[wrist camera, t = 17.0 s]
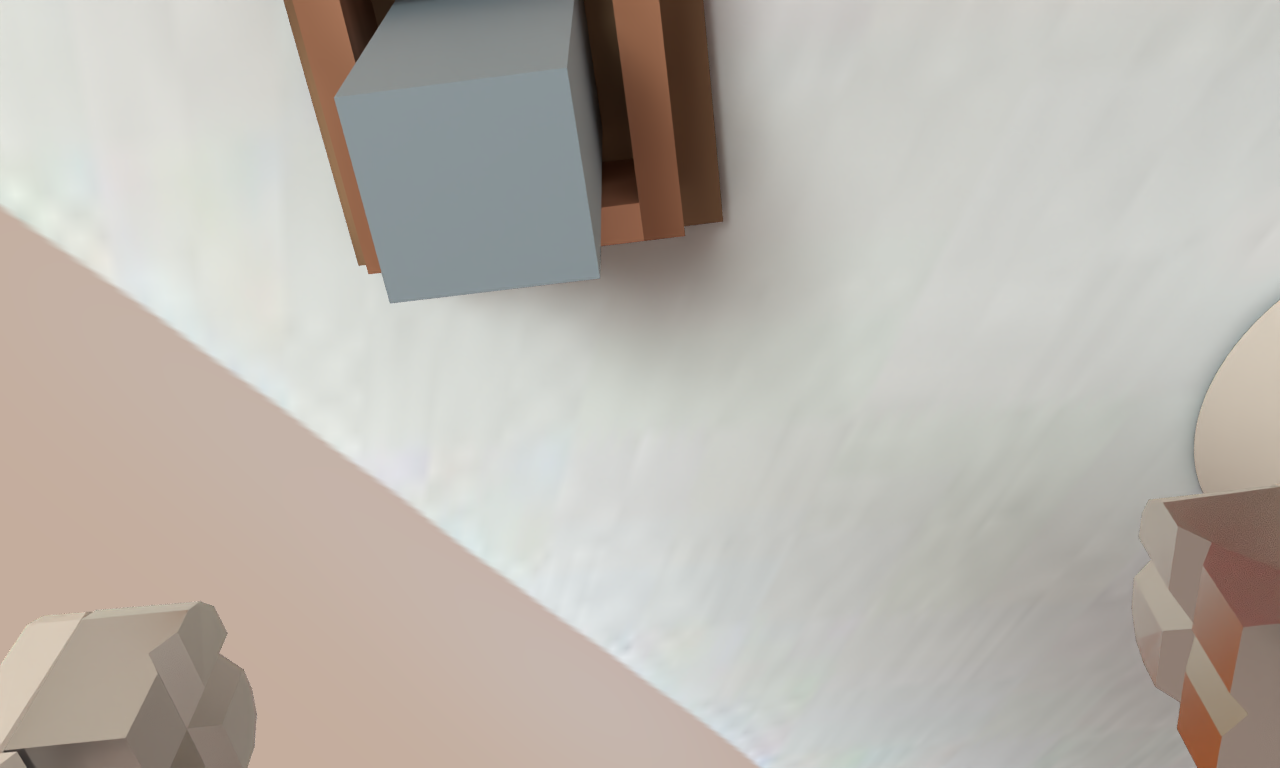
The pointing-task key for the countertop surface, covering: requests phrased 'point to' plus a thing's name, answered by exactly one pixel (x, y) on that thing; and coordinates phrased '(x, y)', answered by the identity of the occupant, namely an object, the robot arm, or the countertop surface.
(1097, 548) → the countertop surface
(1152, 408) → the countertop surface
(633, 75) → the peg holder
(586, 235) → the square peg
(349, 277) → the countertop surface
